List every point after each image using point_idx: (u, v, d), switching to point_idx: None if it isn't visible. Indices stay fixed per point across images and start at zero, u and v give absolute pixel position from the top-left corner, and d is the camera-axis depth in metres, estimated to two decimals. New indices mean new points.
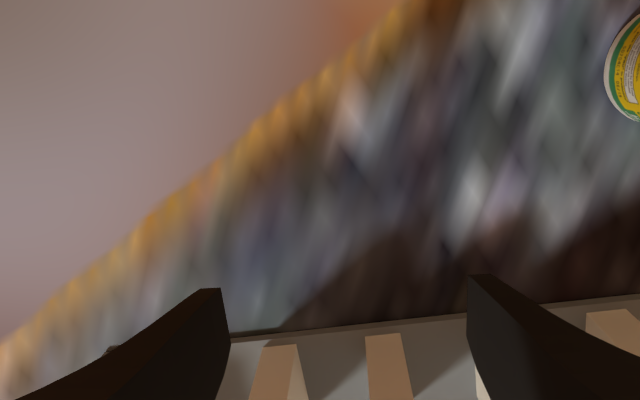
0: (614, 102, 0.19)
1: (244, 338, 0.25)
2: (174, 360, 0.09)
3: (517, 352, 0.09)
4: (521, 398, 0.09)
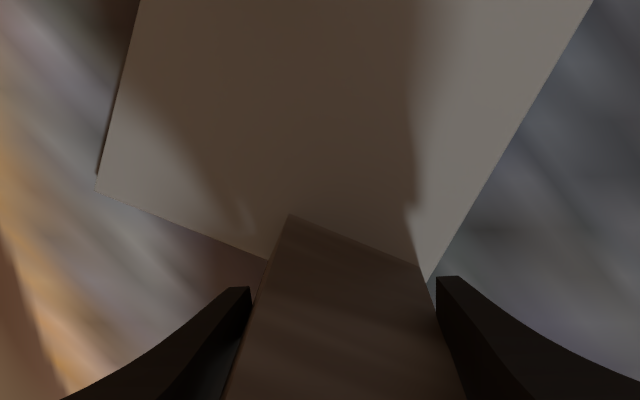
0: None
1: None
2: (212, 358, 0.09)
3: (474, 353, 0.09)
4: (479, 399, 0.09)
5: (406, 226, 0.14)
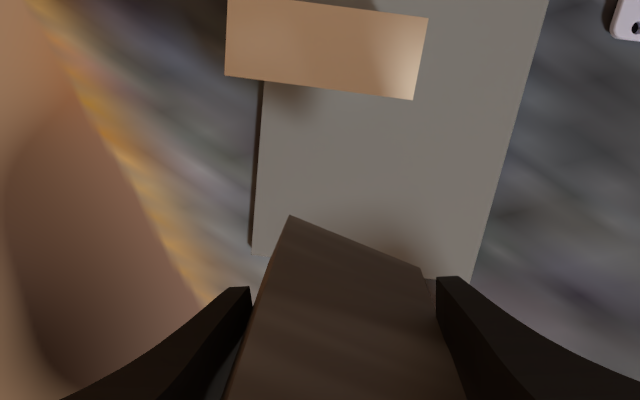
0: None
1: None
2: (212, 359, 0.09)
3: (474, 353, 0.09)
4: (479, 399, 0.09)
5: (453, 226, 0.22)
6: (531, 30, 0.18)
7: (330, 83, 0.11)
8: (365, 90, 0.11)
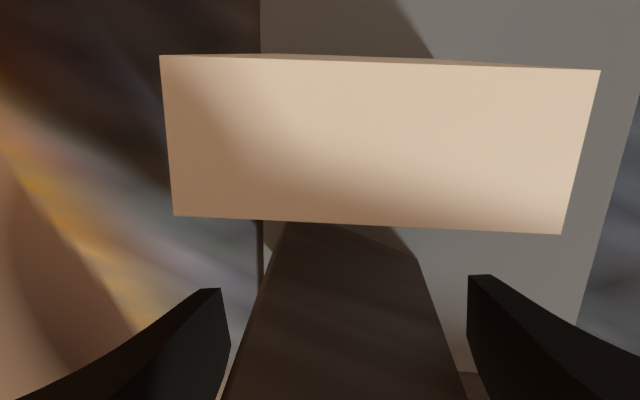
0: None
1: None
2: (174, 360, 0.09)
3: (517, 352, 0.09)
4: (521, 398, 0.09)
5: None
6: None
7: (388, 215, 0.05)
8: (460, 222, 0.05)
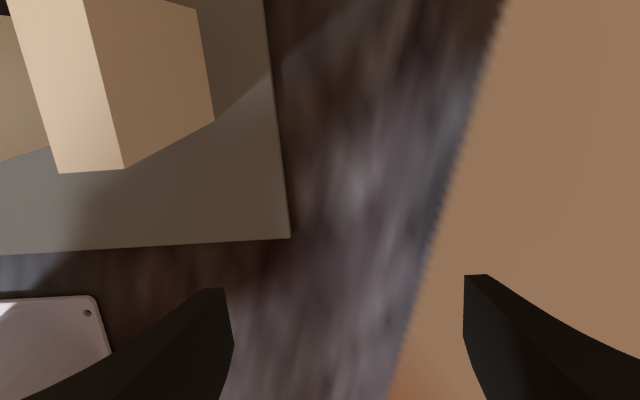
0: None
1: None
2: (178, 360, 0.09)
3: (512, 352, 0.09)
4: (516, 398, 0.09)
5: None
6: None
7: None
8: None
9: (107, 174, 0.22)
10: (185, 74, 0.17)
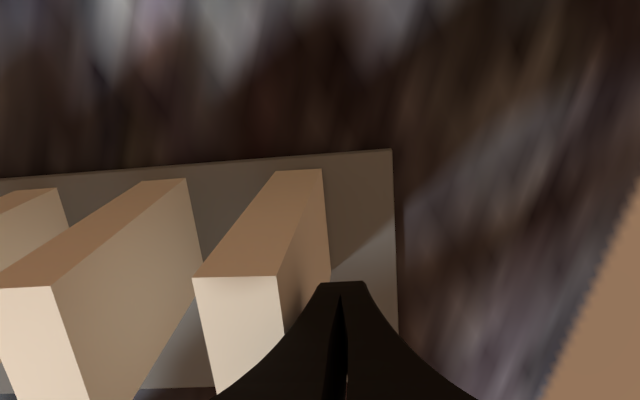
0: None
1: None
2: (332, 354, 0.09)
3: None
4: None
5: None
6: None
7: None
8: None
9: None
10: (319, 255, 0.16)
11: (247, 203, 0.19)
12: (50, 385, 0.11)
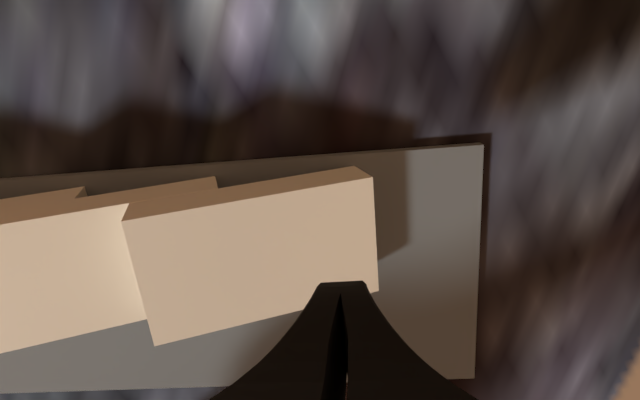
0: None
1: None
2: (332, 354, 0.09)
3: None
4: None
5: None
6: (92, 384, 0.23)
7: None
8: None
9: (286, 315, 0.20)
10: (310, 255, 0.16)
11: None
12: None
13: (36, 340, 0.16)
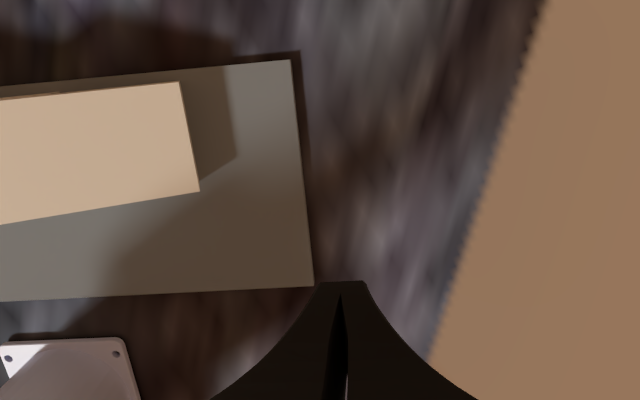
0: None
1: None
2: (332, 354, 0.09)
3: None
4: None
5: None
6: None
7: None
8: None
9: (139, 226, 0.23)
10: (125, 152, 0.18)
11: None
12: None
13: None
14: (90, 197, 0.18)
